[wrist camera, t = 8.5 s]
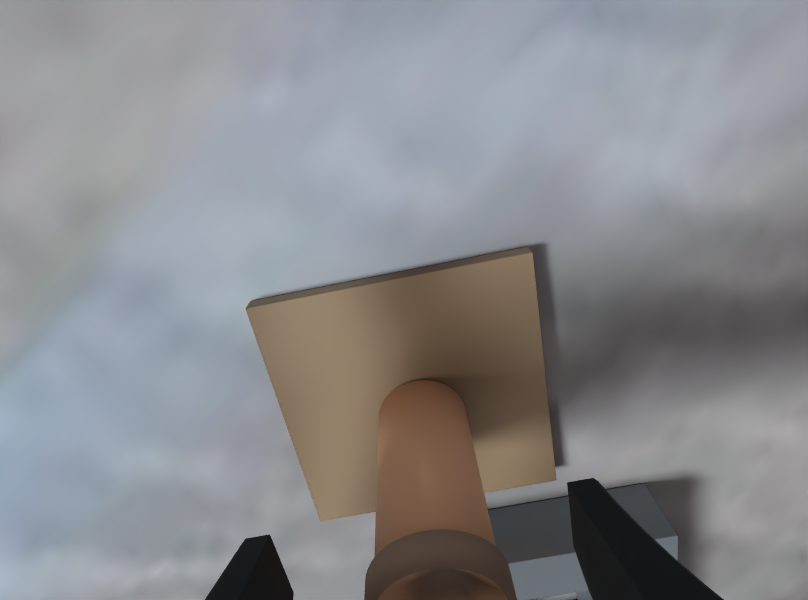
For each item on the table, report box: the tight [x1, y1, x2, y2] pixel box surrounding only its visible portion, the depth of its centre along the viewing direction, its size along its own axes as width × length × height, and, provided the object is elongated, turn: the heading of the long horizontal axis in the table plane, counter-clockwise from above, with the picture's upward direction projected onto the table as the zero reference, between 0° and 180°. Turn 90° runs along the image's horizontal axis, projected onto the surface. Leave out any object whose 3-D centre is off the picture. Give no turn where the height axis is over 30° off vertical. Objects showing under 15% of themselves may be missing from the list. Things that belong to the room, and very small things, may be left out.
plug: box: [364, 380, 517, 600], centre depth 14 cm, size 3×3×7 cm
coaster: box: [246, 247, 556, 521], centre depth 18 cm, size 9×9×1 cm
